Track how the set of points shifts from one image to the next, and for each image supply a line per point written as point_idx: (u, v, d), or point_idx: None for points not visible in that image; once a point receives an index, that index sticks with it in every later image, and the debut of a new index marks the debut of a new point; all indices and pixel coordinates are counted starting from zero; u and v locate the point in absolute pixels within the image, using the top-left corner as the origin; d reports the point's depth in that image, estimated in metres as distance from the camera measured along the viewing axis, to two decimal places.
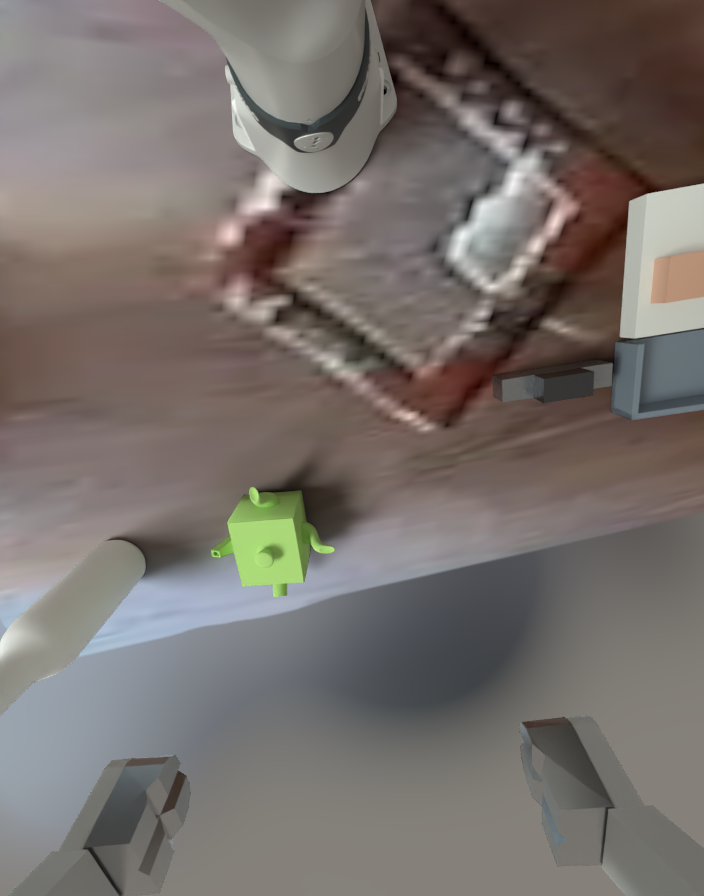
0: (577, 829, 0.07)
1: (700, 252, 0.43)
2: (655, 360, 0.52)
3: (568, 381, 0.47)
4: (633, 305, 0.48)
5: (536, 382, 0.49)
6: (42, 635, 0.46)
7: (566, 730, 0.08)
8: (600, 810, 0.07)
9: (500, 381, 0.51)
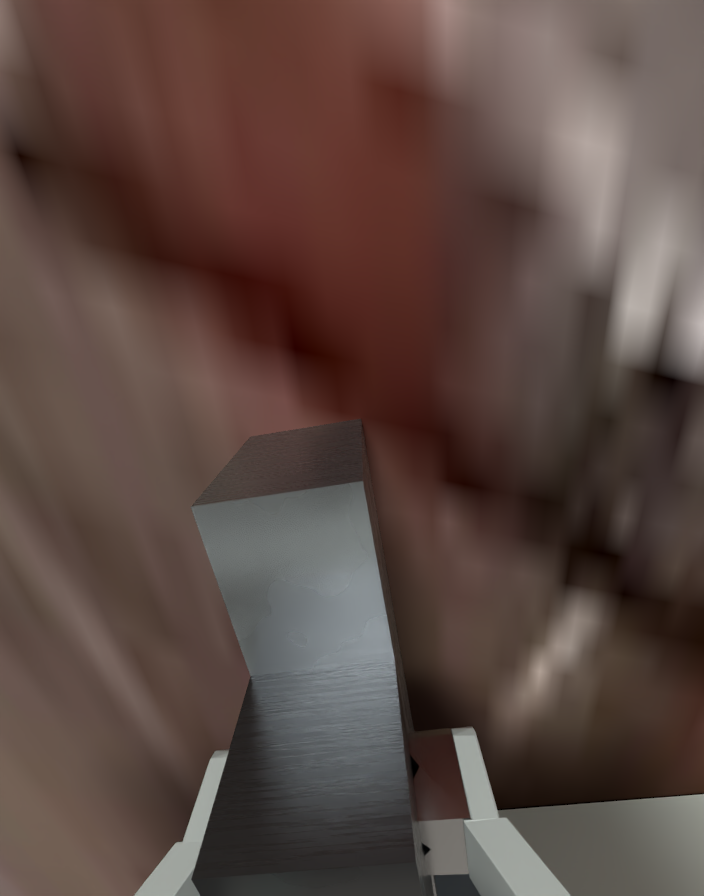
0: (439, 839, 0.07)
1: None
2: None
3: None
4: (626, 882, 0.13)
5: (355, 710, 0.07)
6: None
7: (445, 741, 0.08)
8: (458, 821, 0.07)
9: (344, 469, 0.07)
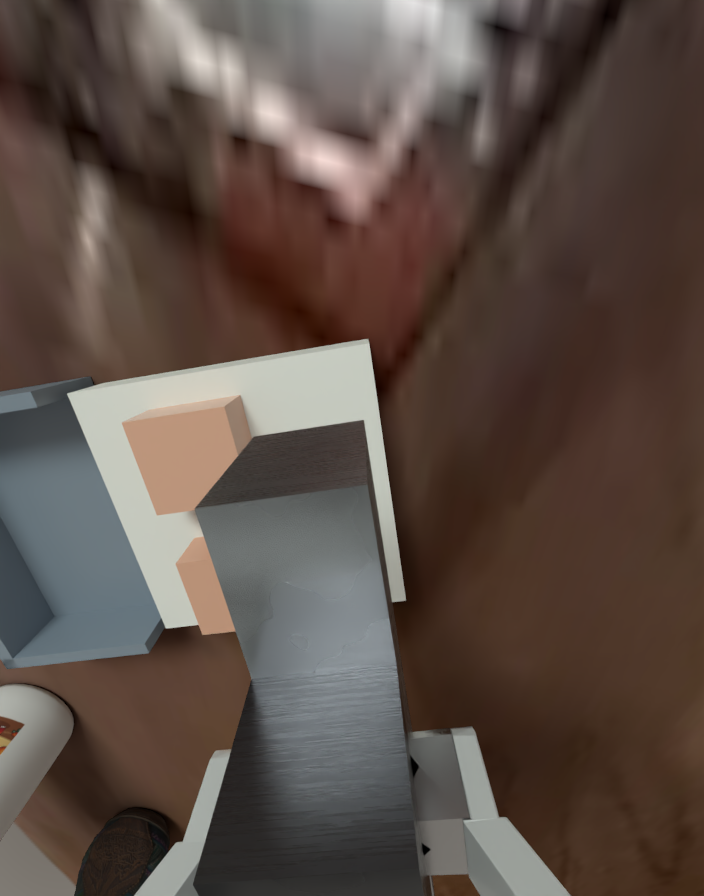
0: (440, 840, 0.07)
1: None
2: (65, 464, 0.24)
3: None
4: (146, 378, 0.20)
5: (357, 714, 0.07)
6: None
7: (445, 741, 0.08)
8: (457, 821, 0.07)
9: (348, 472, 0.07)
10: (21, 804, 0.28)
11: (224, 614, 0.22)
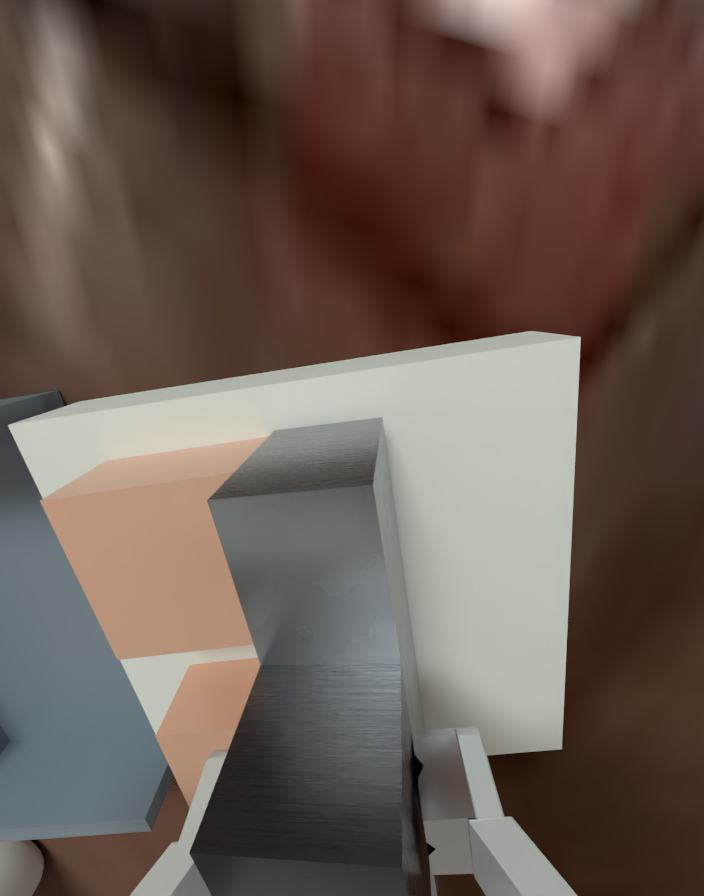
0: (444, 839, 0.07)
1: None
2: (18, 531, 0.15)
3: None
4: (153, 398, 0.11)
5: (357, 709, 0.07)
6: None
7: (449, 741, 0.08)
8: (463, 820, 0.07)
9: (357, 470, 0.07)
10: None
11: None
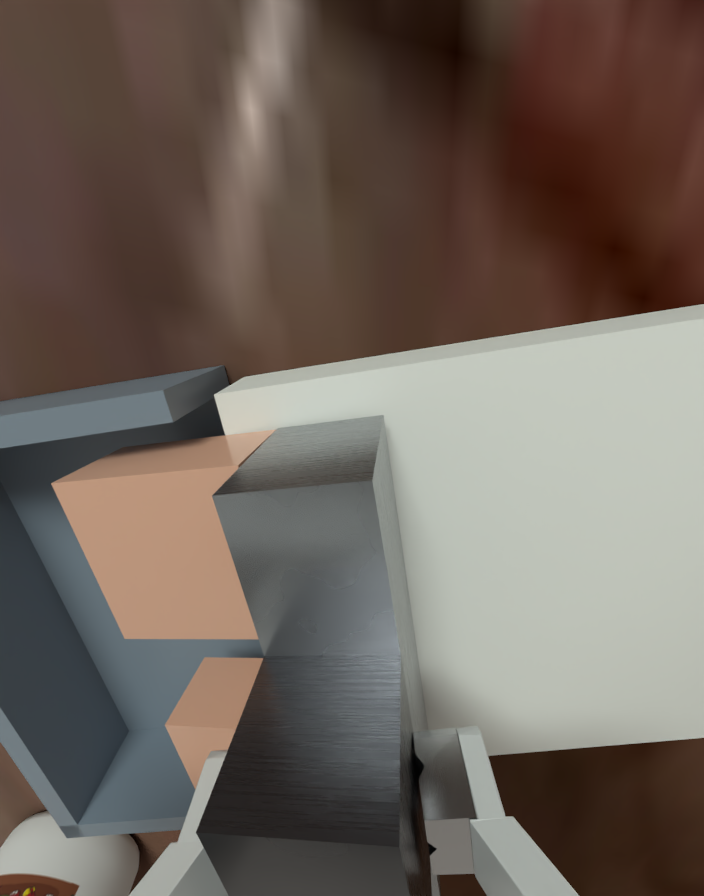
0: (445, 839, 0.07)
1: None
2: None
3: None
4: (356, 368, 0.11)
5: (357, 698, 0.07)
6: None
7: (451, 741, 0.08)
8: (464, 820, 0.07)
9: (357, 467, 0.07)
10: None
11: None
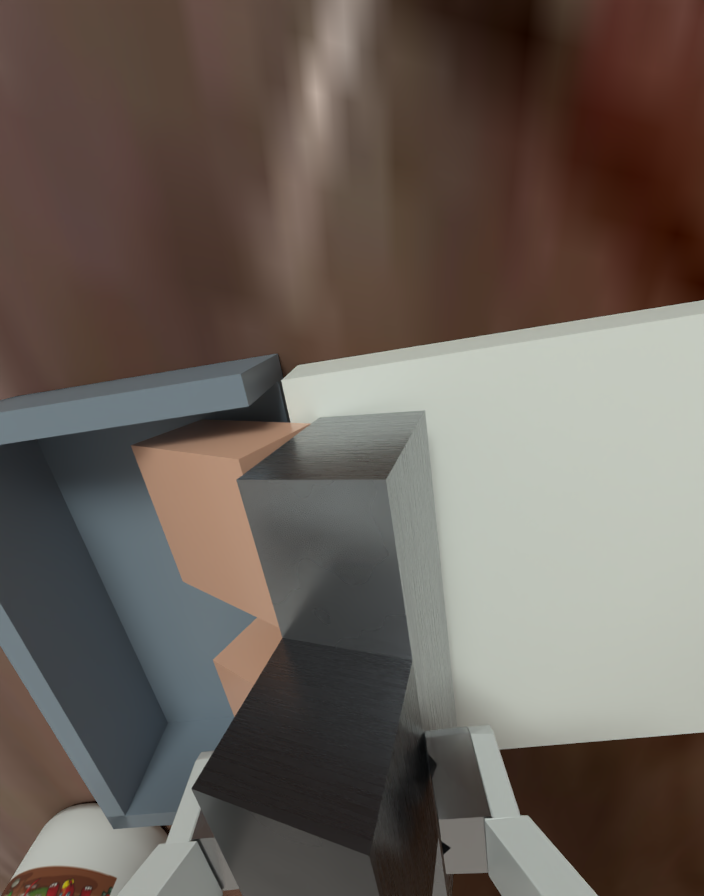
0: (459, 838, 0.07)
1: None
2: None
3: None
4: (422, 354, 0.11)
5: (360, 696, 0.07)
6: None
7: (463, 739, 0.08)
8: (478, 819, 0.07)
9: (376, 464, 0.07)
10: None
11: None
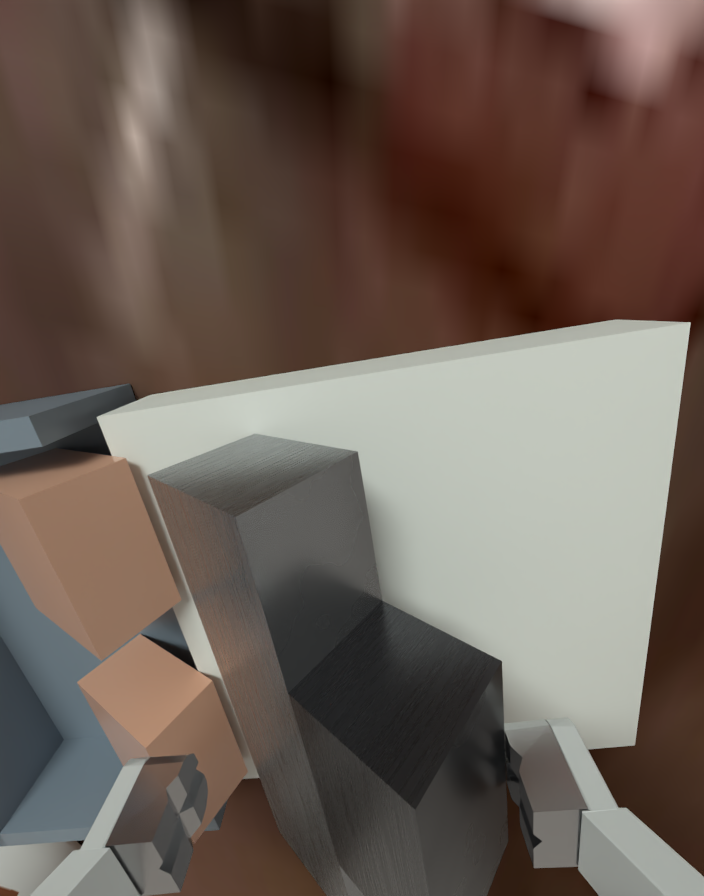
0: (553, 831, 0.07)
1: (73, 608, 0.10)
2: None
3: (491, 789, 0.08)
4: (241, 389, 0.11)
5: (393, 639, 0.08)
6: None
7: (544, 732, 0.08)
8: (574, 812, 0.07)
9: (326, 453, 0.08)
10: None
11: None
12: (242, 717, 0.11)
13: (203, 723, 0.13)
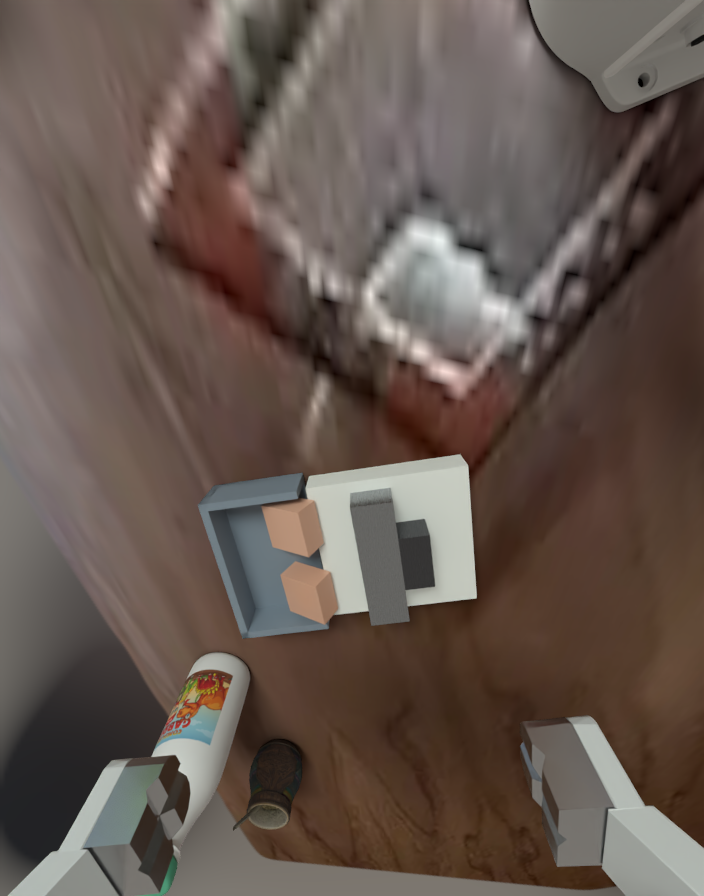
0: (578, 830, 0.07)
1: (304, 541, 0.37)
2: None
3: None
4: (345, 479, 0.38)
5: (405, 525, 0.38)
6: None
7: (566, 730, 0.08)
8: (600, 810, 0.07)
9: (384, 490, 0.37)
10: None
11: (298, 606, 0.42)
12: (367, 575, 0.38)
13: (327, 585, 0.40)
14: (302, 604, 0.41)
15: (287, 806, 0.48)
